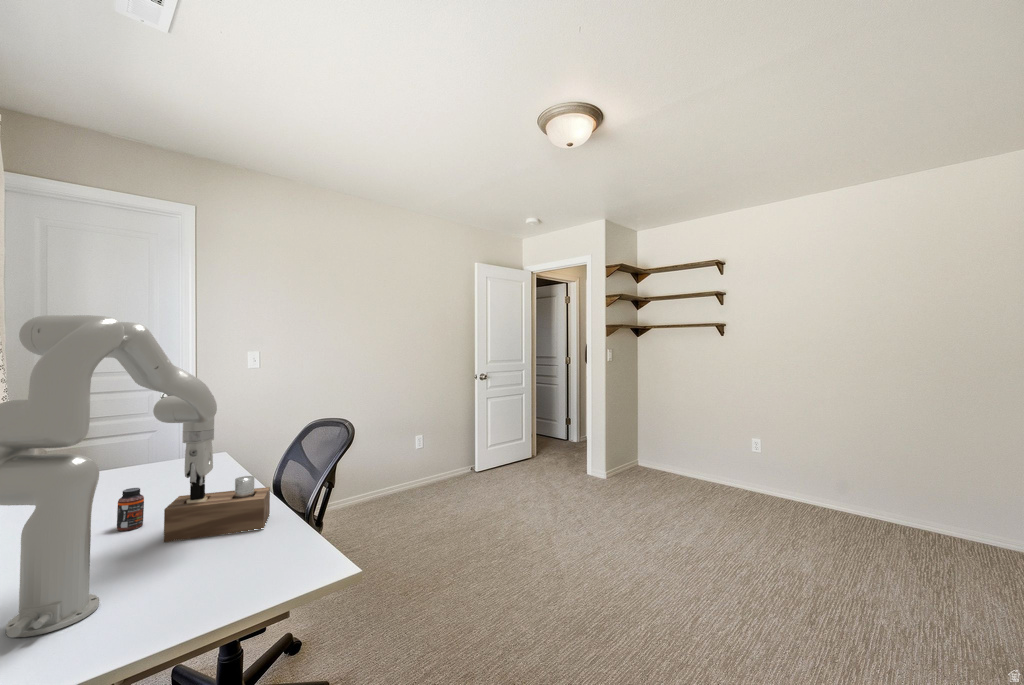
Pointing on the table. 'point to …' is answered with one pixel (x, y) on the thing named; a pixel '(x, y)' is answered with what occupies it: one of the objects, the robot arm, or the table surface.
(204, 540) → the table surface
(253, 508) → the walnut block
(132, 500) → the supplement bottle
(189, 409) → the robot arm
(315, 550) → the table surface
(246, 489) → the gray peg
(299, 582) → the table surface
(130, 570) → the table surface
